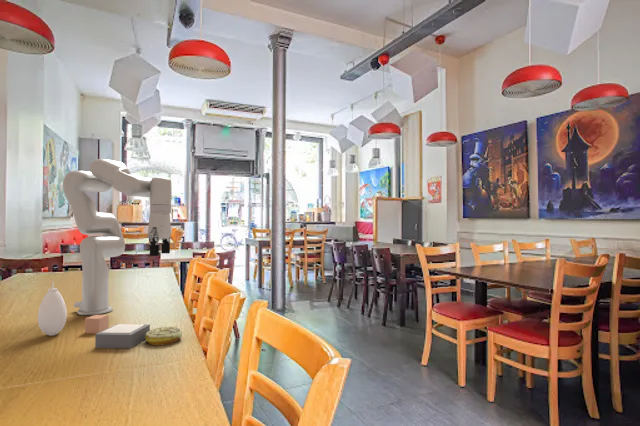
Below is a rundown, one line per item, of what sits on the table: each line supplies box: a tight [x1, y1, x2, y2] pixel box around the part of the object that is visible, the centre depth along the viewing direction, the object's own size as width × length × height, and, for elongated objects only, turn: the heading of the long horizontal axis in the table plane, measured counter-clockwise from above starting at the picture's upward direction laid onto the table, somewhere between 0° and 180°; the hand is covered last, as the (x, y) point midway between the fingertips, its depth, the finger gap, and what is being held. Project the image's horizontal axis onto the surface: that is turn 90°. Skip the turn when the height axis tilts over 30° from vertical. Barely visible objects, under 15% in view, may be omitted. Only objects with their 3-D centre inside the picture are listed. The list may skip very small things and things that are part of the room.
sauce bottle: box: [37, 281, 68, 337], centre depth 124 cm, size 8×8×18 cm
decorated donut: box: [145, 326, 183, 346], centre depth 118 cm, size 10×11×4 cm
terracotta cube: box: [84, 314, 110, 334], centre depth 129 cm, size 5×5×5 cm
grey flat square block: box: [94, 323, 151, 349], centre depth 117 cm, size 11×11×4 cm
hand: (160, 254), depth 143 cm, fingers open, 9 cm apart
